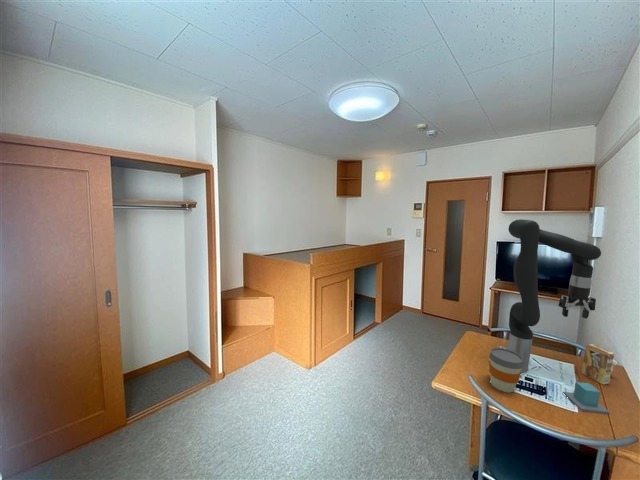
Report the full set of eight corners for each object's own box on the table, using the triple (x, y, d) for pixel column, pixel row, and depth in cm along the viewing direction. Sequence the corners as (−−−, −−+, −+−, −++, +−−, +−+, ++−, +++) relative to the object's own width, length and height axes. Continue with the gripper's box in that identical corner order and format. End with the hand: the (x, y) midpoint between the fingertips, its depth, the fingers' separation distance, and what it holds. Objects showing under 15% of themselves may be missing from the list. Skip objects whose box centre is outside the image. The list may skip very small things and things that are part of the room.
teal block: (583, 404, 110) (585, 390, 109) (573, 396, 115) (575, 381, 115) (597, 406, 110) (600, 391, 109) (586, 397, 115) (589, 383, 114)
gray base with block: (581, 410, 108) (583, 396, 108) (562, 393, 118) (564, 380, 117) (609, 414, 107) (612, 399, 106) (588, 396, 117) (590, 383, 116)
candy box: (609, 383, 126) (615, 353, 124) (602, 385, 125) (608, 354, 123) (587, 372, 135) (592, 343, 132) (580, 373, 134) (585, 344, 131)
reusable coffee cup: (479, 380, 126) (483, 350, 124) (497, 374, 131) (501, 345, 129) (507, 398, 114) (512, 365, 112) (525, 391, 119) (530, 359, 117)
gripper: (569, 286, 127) (564, 319, 129) (603, 288, 125) (597, 321, 127) (558, 281, 135) (553, 312, 137) (590, 283, 133) (584, 315, 135)
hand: (574, 317), depth 132 cm, fingers open, 8 cm apart
